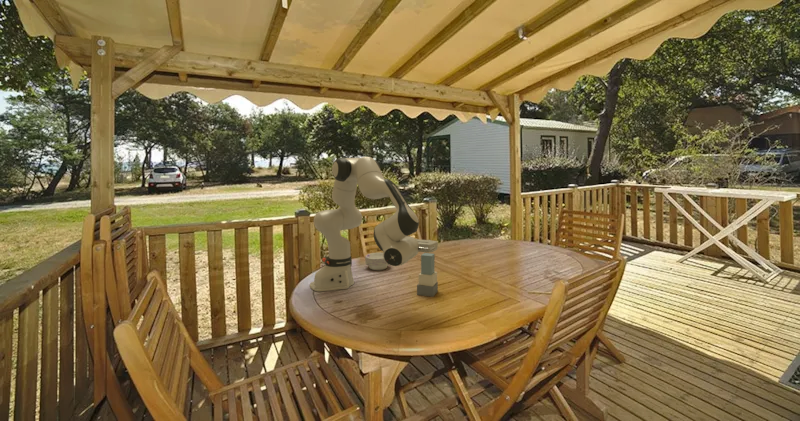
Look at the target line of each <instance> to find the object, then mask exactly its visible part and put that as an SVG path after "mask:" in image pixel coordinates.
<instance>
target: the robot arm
mask: <svg viewBox="0 0 800 421" xmlns="http://www.w3.org/2000/svg"><path fill="white" fill-rule="evenodd" d="M331 171H332V176H333V178H334V183H333V187H332V192H331V193H332V194H331V199H332V201H333V202H334V203H335V204H336V205H337V206H339V207H338V208H335V209H334V208H333V209H324V210H321V211H318V212H316V214H315V215H314V218H313V225H314V227H315V229H316V230H317V231H318V232H320V233H321V234H322V236H324V237H325V240H326V242H327V247H328V248H327V250H328V257H327V258H326V257H323V258H322V261H323V263H324V264H325V265H324V266H323V267H321V268H320V269H319V270H318V271H317V272H316V273H315V275H314V278H313V279H314V280H313V281H310V284H309V288H310V289H311V290H313V291H314V292H329V291H337V290H346V289H349V288H350V287H351V286H353V285H354V284H355V280H354V277H353V272H352V266H353V264H352V263H353V261H352V260H353V259H352V255H351V242H350V241H349V239H348V238H346V237H344V236H342V235H341V231H345V230H353V229H355V228H358V227H360V226H361V224H362V222H363V215H362V212H361V211H360V210H359V209H358V207H357V206H356V203H355V202H356V201H355V199H356V194H357V188H358V190H359V191H360V193H361V194H362V195H363V197H365V198H366V199H369V200H380V199H383V198H390V201H391V202H392V204H393V205H394V207H395V209H396V211H395V213H394V214H392V215H391V216H390V217H388V218H386V219H385V220H383V221H382V222H380V223H378V224H376V225H375V226H374V229H373V240H374V243H375V244H376V246H377V248H378V249H379V250H380V251H382V253H383V257H384V260H385V261H386V263H388V264H389V266H391V267H399V266H403V265H404V264H406V263H408V262H409V261H410V260H412V259H413V258H415V256H417V255H418V254H419V253H434V252H435V251H437V250H438V248H439V246H438V241H437V240H432V239H418V238H415V237H413V236H411V235H412V234H414V233H415V234H416V233H417V232H418V228H419V225H420V220H419V217H418V216H417V214H416V213H415V212H414V211H413V209H412V208H411V206H410V205H409V204H408V202H407V200H406V198H405V197H404V196H403V194H402V192H401V191H400V189H399V188H398V186H397V185H396V184H395V182H393V181H392V180H391V179H389V178H384V176H383V173H382V171H381V166H380V164H379V162H378V160H376V159H374V158H373V157H370V156H362V157H339V158H336V159H335V160H334V161H333V164H332V169H331Z"/></svg>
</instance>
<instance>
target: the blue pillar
mask: <svg viewBox="0 0 800 421" xmlns="http://www.w3.org/2000/svg"><path fill="white" fill-rule="evenodd" d="M434 272H435V253H433V252H429V253H428V252H423V253H422V254H421V256H420V273H421V274H427V275H432V274H433V273H434Z"/></svg>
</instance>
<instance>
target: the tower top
mask: <svg viewBox="0 0 800 421" xmlns="http://www.w3.org/2000/svg"><path fill="white" fill-rule="evenodd" d="M437 282H438V271H434V273H433V274H432V275H427V274H421V272H420V273H418V284H419V285H425V286H434V285H435V284H436V283H437Z"/></svg>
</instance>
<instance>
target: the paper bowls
mask: <svg viewBox="0 0 800 421" xmlns="http://www.w3.org/2000/svg"><path fill="white" fill-rule="evenodd" d="M364 258H365V265H366V266H368V267H369V269H370V270H374V271H382V270H385V269H386V270H387V268H388V265H389V264H388V263H386V261H385V260H384V257H383V252H371V253H367V254H366V255H365V257H364ZM389 266H390V265H389Z"/></svg>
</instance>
